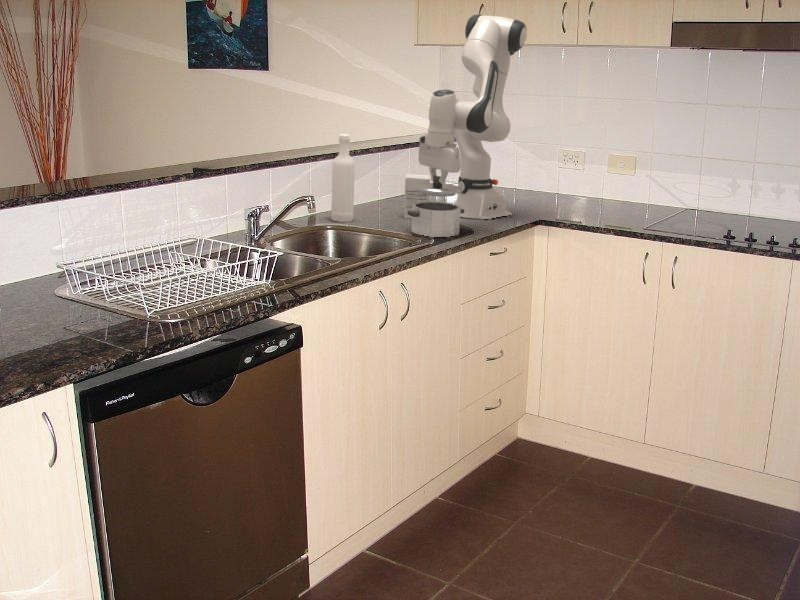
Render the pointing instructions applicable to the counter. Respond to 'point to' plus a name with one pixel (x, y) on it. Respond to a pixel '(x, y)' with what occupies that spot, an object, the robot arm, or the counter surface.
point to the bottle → (343, 183)
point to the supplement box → (414, 192)
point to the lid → (437, 188)
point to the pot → (435, 219)
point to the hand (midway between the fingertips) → (438, 182)
